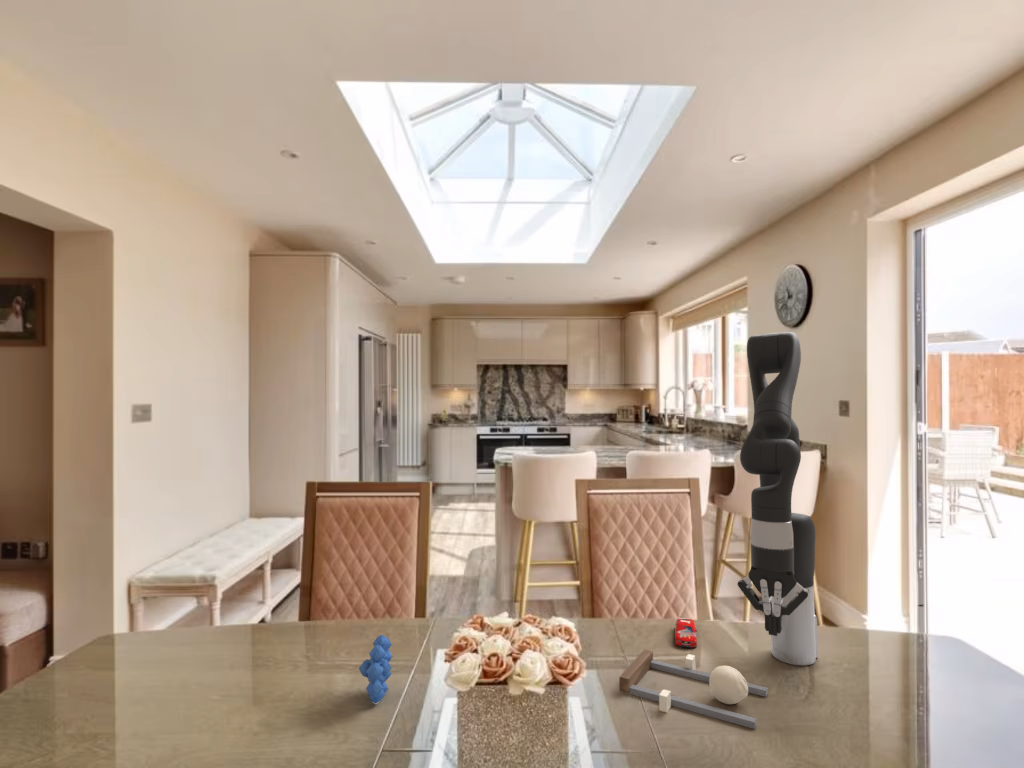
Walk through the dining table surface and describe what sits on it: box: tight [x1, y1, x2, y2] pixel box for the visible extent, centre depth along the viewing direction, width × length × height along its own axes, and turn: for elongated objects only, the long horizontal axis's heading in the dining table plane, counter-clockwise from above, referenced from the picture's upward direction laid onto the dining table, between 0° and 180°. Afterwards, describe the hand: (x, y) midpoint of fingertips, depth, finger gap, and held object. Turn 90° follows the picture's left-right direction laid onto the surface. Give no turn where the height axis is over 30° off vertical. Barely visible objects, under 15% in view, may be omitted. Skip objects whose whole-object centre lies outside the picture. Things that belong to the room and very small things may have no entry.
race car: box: [673, 617, 698, 648], centre depth 143 cm, size 13×5×4 cm, turn 162°
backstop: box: [619, 648, 654, 695], centre depth 123 cm, size 2×15×3 cm, turn 147°
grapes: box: [358, 634, 394, 704], centre depth 116 cm, size 12×7×12 cm, turn 179°
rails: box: [628, 659, 769, 730], centre depth 116 cm, size 24×14×1 cm, turn 57°
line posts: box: [658, 653, 697, 714], centre depth 118 cm, size 2×20×3 cm, turn 147°
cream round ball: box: [708, 665, 749, 705], centre depth 113 cm, size 7×7×7 cm
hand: (773, 633), depth 108 cm, fingers closed
